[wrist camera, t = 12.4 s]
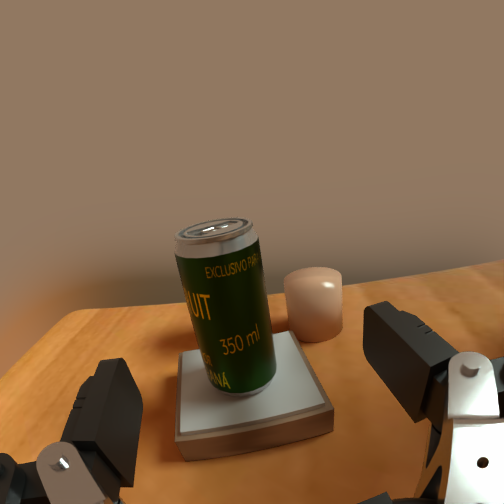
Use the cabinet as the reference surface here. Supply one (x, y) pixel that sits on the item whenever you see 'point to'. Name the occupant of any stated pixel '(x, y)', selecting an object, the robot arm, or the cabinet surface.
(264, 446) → the podium
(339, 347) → the cabinet surface
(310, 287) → the peach rounded cylinder
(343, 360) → the cabinet surface
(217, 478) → the cabinet surface
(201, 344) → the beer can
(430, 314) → the cabinet surface
